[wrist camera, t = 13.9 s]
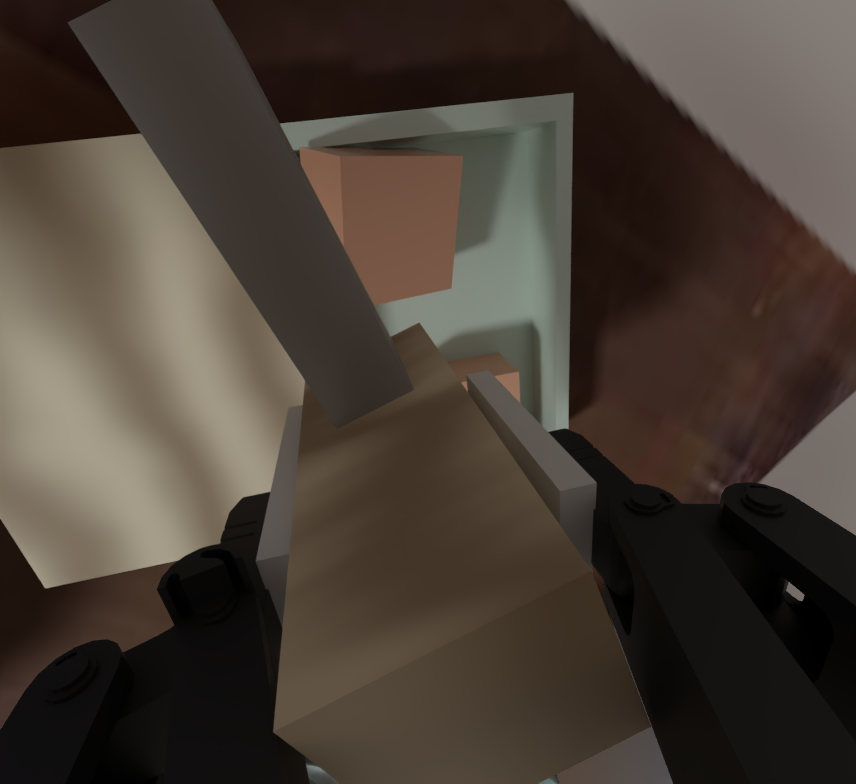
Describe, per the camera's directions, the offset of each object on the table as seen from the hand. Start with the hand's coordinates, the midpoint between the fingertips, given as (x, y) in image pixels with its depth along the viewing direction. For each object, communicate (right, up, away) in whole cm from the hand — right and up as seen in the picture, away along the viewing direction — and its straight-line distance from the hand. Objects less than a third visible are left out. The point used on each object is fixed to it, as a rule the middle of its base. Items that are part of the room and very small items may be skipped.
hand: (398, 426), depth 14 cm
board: (-14, +3, +10) cm, 17 cm away
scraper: (0, +1, 0) cm, 1 cm away
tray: (+1, +6, +12) cm, 14 cm away
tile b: (-2, +10, +7) cm, 12 cm away
